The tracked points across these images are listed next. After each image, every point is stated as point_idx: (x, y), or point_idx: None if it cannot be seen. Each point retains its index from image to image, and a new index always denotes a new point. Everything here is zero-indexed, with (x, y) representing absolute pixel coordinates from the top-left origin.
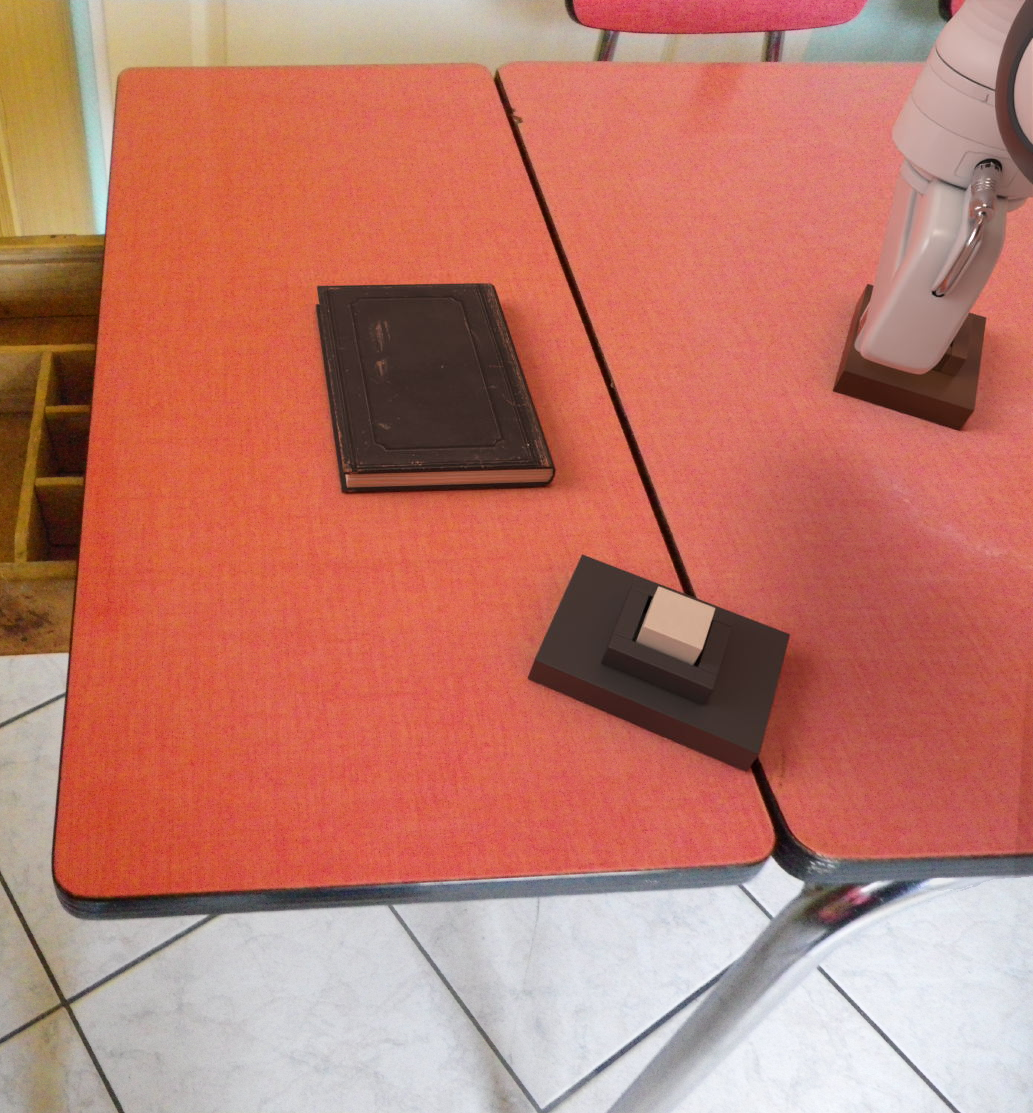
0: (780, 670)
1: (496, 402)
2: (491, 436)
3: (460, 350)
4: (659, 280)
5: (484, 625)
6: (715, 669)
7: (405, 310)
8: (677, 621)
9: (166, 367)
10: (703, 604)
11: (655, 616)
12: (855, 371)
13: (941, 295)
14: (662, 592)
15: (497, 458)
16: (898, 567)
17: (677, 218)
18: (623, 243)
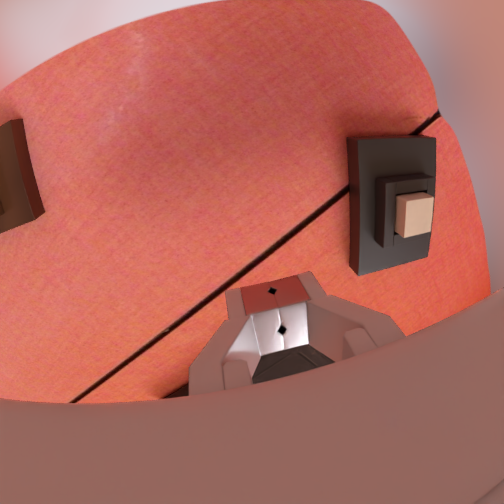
0: (386, 138)
1: (261, 370)
2: (292, 357)
3: None
4: (54, 346)
5: (397, 280)
6: (425, 180)
7: None
8: (422, 217)
9: None
10: (406, 208)
11: (423, 229)
12: (29, 212)
13: (406, 347)
14: (407, 234)
15: (308, 346)
16: (204, 84)
17: (9, 354)
18: (50, 370)
